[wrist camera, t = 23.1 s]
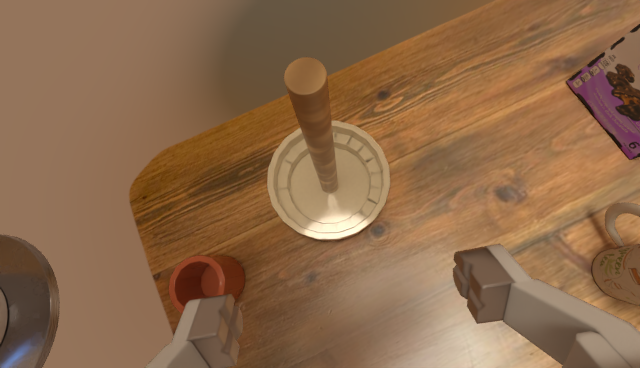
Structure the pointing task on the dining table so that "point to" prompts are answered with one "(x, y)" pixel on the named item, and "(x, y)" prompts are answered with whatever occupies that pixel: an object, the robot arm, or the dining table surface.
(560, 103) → the dining table surface
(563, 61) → the dining table surface
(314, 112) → the stick
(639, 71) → the candy box
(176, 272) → the utensil pot
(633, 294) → the mug
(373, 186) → the bowl
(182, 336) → the robot arm
